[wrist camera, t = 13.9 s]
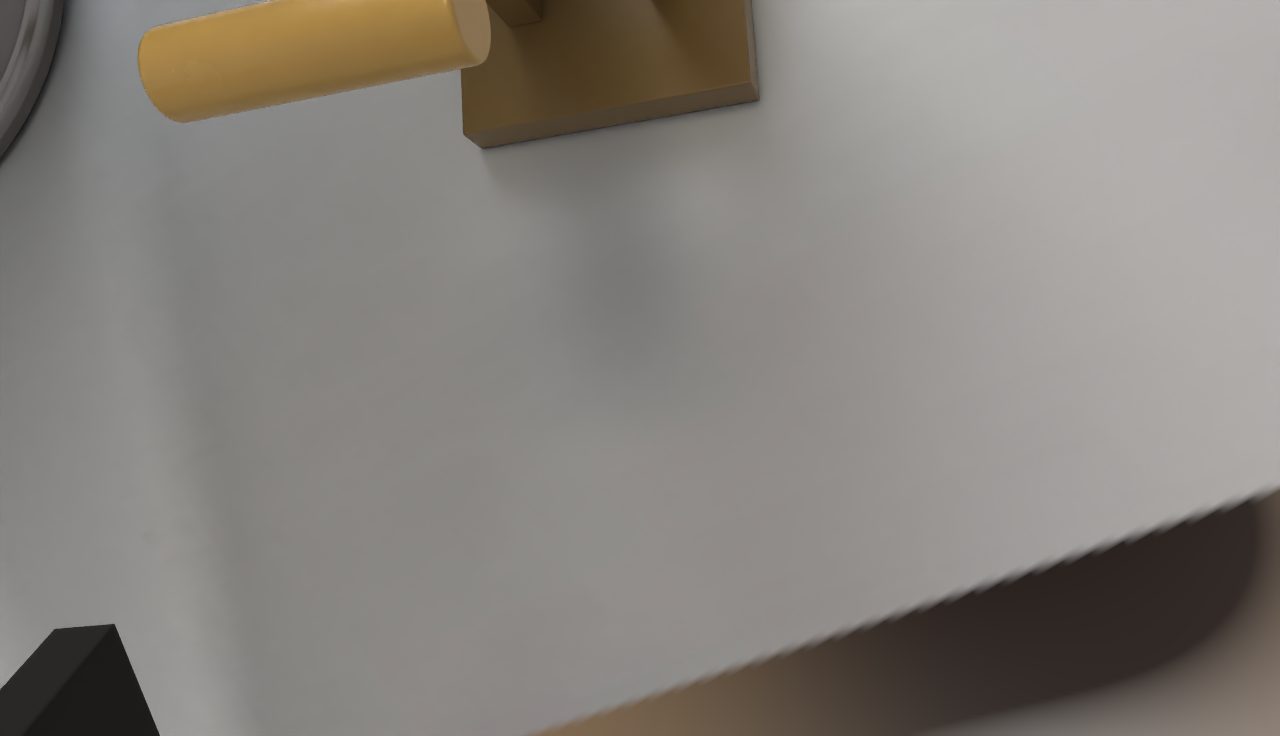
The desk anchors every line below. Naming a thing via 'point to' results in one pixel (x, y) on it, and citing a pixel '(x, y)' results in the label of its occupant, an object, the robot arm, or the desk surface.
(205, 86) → the pivoting switch lever
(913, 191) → the desk surface
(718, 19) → the bracket
